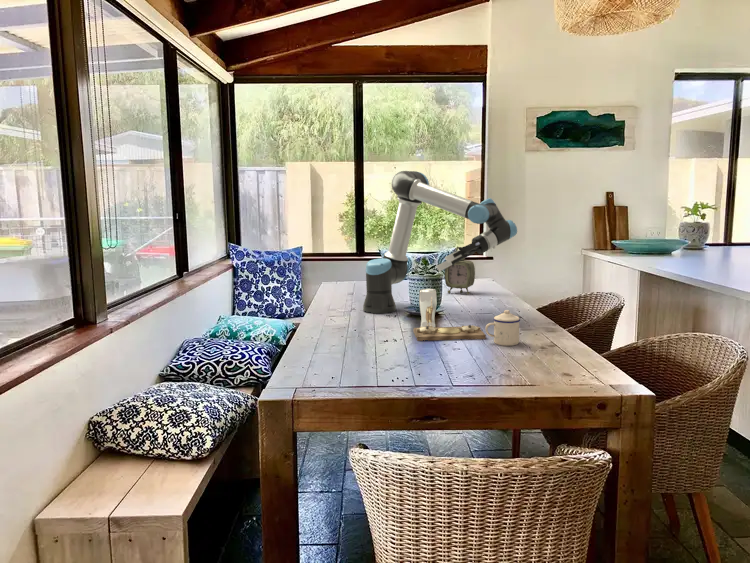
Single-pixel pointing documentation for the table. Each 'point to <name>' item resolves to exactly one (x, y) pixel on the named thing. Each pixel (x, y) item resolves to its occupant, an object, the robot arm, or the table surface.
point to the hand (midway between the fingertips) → (442, 264)
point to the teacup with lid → (505, 329)
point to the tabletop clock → (460, 275)
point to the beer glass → (427, 307)
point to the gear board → (449, 333)
